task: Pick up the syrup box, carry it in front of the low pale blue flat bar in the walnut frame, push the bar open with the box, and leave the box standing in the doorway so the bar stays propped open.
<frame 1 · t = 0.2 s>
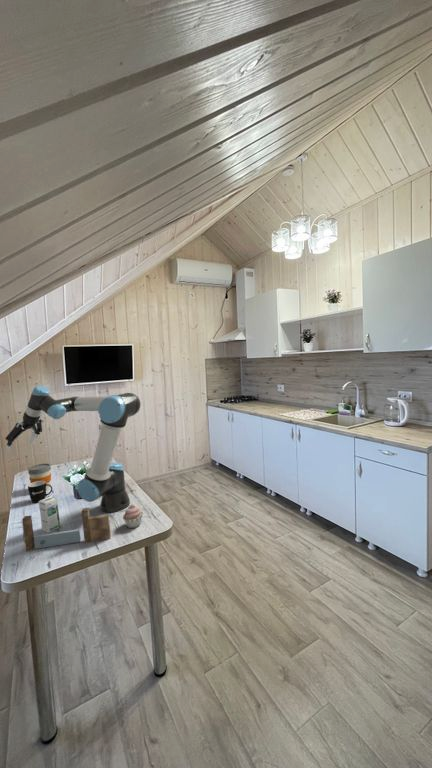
hand: (20, 446, 170), 35 cm above the table, tool tilted 35°, fingers open, 13 cm apart
syrup box: (51, 529, 150), on the table
door frame: (82, 541, 137), on the table
pale blue flat bar: (57, 539, 135), point 3 cm above the table, hinge at 0.0°
cupcake: (134, 525, 148), on the table
mug: (41, 500, 185), on the table
reusable coffee cup: (42, 490, 201), on the table
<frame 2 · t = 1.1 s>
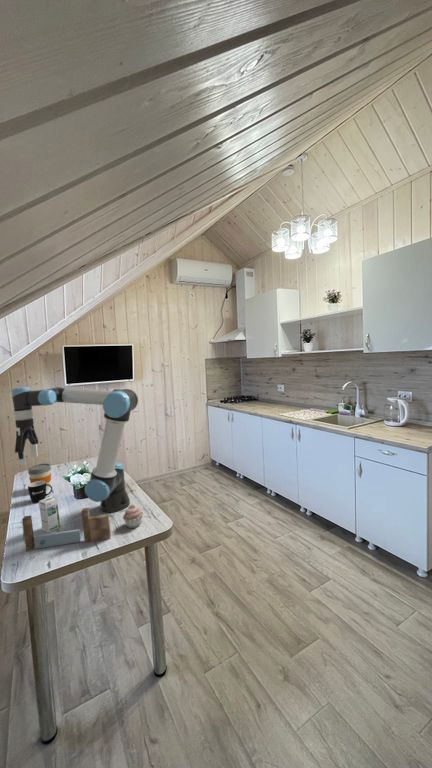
hand: (29, 461, 157), 31 cm above the table, tool pointing down, fingers open, 13 cm apart
nothing on the table moved.
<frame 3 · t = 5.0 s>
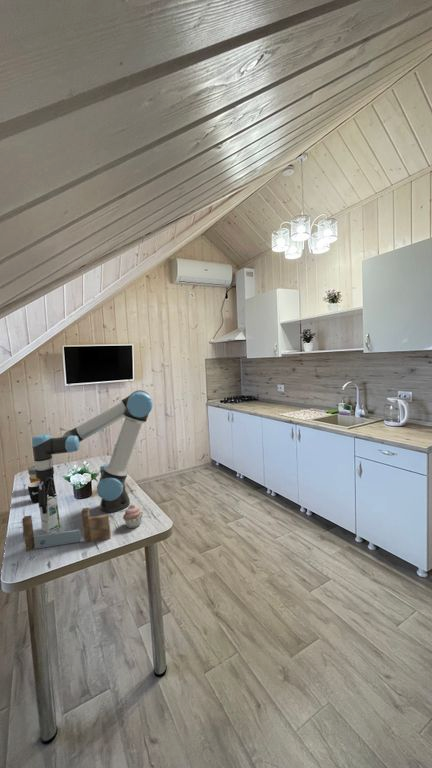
hand: (49, 515, 149), 7 cm above the table, tool pointing down, fingers closed on syrup box, 8 cm apart
syrup box: (51, 529, 150), on the table, touching gripper
everything else where it was.
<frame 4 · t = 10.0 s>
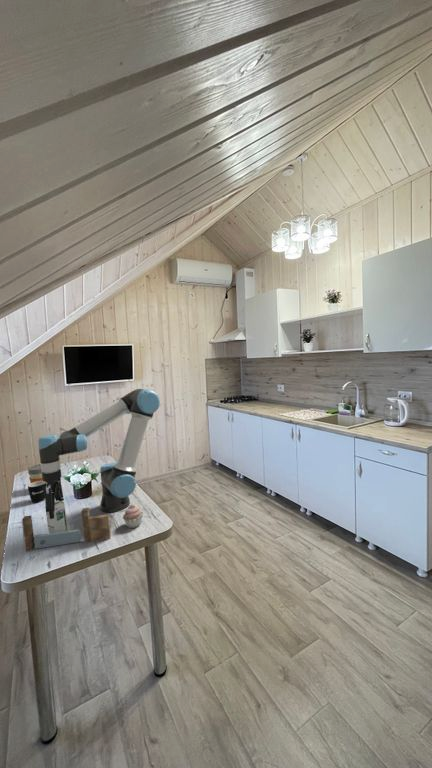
hand: (56, 520, 142), 8 cm above the table, tool pointing down, fingers closed on syrup box, 8 cm apart
syrup box: (58, 534, 142), point 1 cm above the table, touching gripper
everything else where it was.
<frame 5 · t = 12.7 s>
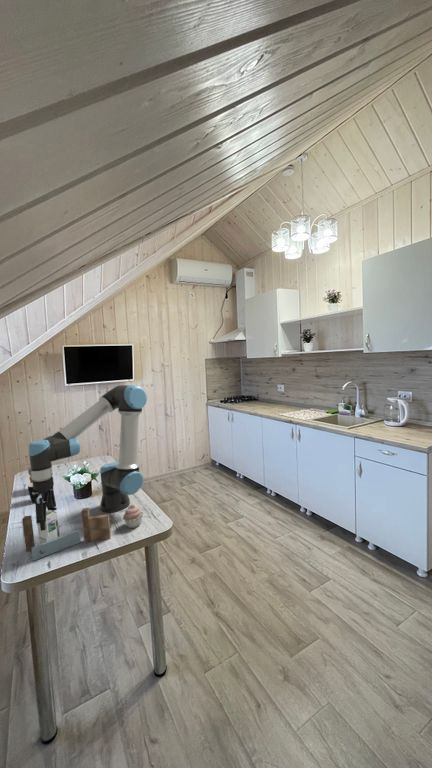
hand: (48, 531, 132), 8 cm above the table, tool pointing down, fingers closed on syrup box, 8 cm apart
syrup box: (50, 547, 133), point 1 cm above the table, touching pale blue flat bar, gripper
pale blue flat bar: (57, 545, 130), point 3 cm above the table, hinge at 29.8°, touching syrup box
everything else where it was.
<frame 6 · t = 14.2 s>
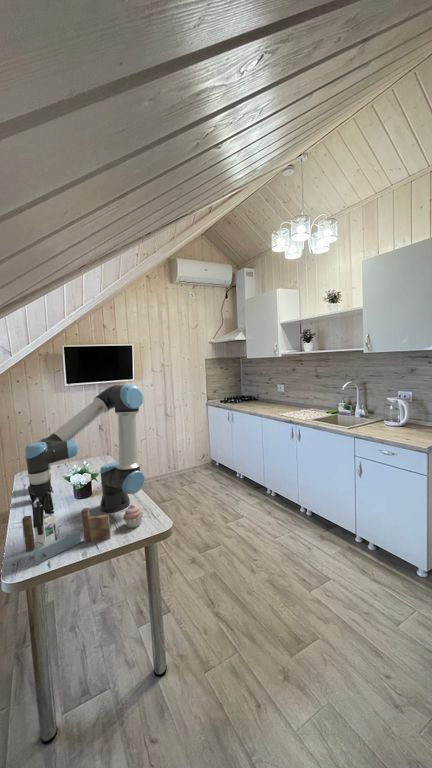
hand: (46, 535, 129), 8 cm above the table, tool pointing down, fingers closed on syrup box, 8 cm apart
syrup box: (48, 551, 130), point 1 cm above the table, touching pale blue flat bar, gripper
pale blue flat bar: (59, 546, 129), point 3 cm above the table, hinge at 40.7°, touching syrup box
everything else where it was.
when the fingers open (8 cm above the table, at t = 15.3 s): syrup box stays where it is, on the table.
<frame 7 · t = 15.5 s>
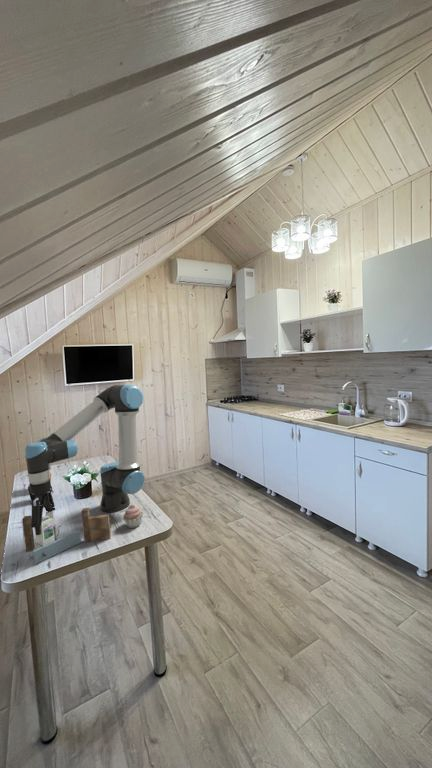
hand: (45, 533, 129), 8 cm above the table, tool pointing down, fingers open, 10 cm apart
syrup box: (48, 553, 130), on the table
pale blue flat bar: (58, 546, 129), point 3 cm above the table, hinge at 39.4°
everything else where it was.
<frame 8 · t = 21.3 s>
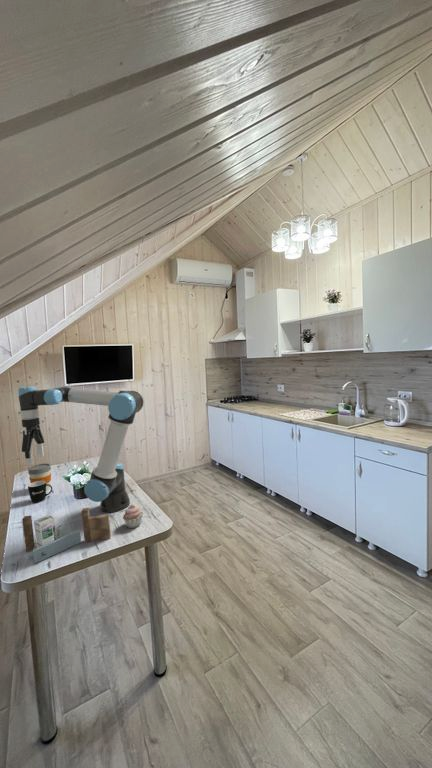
hand: (35, 460, 157), 31 cm above the table, tool pointing down, fingers open, 13 cm apart
syrup box: (47, 553, 130), on the table, touching pale blue flat bar
pale blue flat bar: (58, 546, 129), point 3 cm above the table, hinge at 37.4°, touching syrup box
everything else where it was.
at the end: pale blue flat bar at +37° (first picture: +0°); syrup box inside the target area (0.4 cm from its centre), on the table; syrup box tilted 0° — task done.
